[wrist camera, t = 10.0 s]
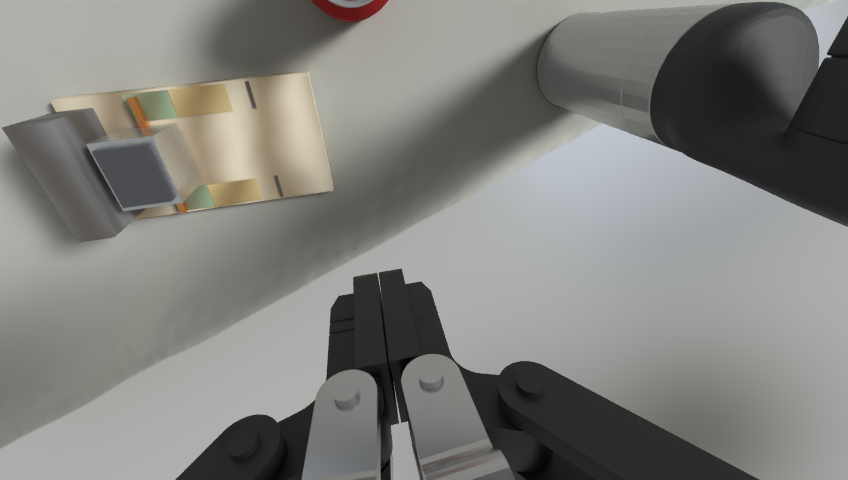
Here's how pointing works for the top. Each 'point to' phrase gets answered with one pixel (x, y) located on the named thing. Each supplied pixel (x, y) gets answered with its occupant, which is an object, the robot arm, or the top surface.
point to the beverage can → (350, 8)
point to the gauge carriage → (146, 164)
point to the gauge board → (205, 140)
